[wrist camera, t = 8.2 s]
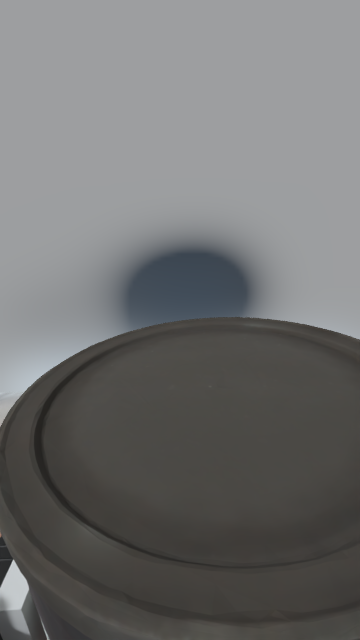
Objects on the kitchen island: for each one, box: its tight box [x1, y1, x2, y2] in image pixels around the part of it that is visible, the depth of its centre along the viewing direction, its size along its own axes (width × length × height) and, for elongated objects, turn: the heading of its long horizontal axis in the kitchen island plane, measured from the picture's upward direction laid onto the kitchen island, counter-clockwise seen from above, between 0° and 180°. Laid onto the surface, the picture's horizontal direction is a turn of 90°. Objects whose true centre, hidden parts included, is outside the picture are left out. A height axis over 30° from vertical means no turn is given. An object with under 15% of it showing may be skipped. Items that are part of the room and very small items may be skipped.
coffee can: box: [0, 317, 360, 640], centre depth 10 cm, size 10×10×14 cm
